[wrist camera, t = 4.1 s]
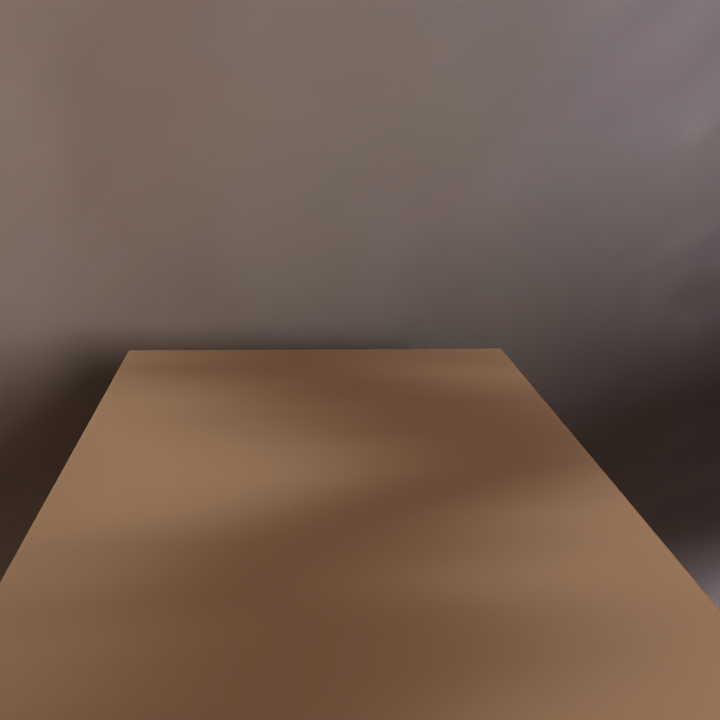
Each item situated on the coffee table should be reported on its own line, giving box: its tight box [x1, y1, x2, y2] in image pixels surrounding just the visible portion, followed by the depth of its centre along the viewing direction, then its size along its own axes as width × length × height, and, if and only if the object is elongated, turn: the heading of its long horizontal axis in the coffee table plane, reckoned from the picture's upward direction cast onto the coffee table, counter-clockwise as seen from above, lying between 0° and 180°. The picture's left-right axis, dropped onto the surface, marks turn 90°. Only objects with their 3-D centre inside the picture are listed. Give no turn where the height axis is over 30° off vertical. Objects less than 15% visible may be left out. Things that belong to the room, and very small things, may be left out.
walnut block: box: [0, 348, 720, 720], centre depth 7 cm, size 6×6×6 cm
